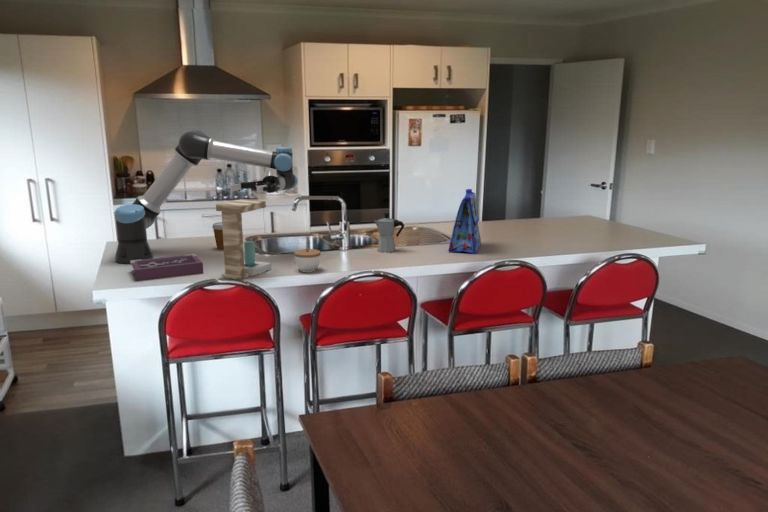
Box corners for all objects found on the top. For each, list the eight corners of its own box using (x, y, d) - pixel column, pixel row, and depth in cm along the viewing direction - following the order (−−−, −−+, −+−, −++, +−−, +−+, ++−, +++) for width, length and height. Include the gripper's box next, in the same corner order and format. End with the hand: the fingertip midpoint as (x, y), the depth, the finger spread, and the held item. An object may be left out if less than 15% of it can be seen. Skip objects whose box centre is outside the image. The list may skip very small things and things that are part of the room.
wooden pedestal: (243, 280, 222) (239, 206, 216) (218, 276, 227) (214, 204, 220) (268, 270, 237) (265, 201, 230) (244, 267, 242) (240, 199, 235)
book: (195, 265, 246) (194, 253, 245) (203, 274, 232) (202, 262, 231) (131, 272, 234) (130, 260, 233) (135, 282, 220) (134, 269, 219)
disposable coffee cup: (228, 251, 270) (227, 225, 267) (209, 250, 272) (208, 225, 269) (237, 246, 279) (236, 222, 276) (219, 245, 281) (217, 221, 278)
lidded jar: (296, 274, 231) (295, 251, 229) (293, 267, 241) (292, 245, 239) (323, 272, 234) (322, 250, 232) (318, 266, 244) (318, 244, 242)
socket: (253, 276, 228) (253, 270, 228) (229, 272, 233) (228, 266, 232) (271, 269, 239) (271, 263, 238) (247, 265, 244) (247, 260, 243)
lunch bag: (476, 254, 267) (479, 192, 260) (447, 252, 270) (449, 190, 263) (481, 244, 287) (484, 186, 280) (454, 243, 290) (456, 185, 284)
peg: (247, 272, 233) (245, 243, 231) (244, 270, 237) (242, 241, 234) (256, 271, 235) (255, 242, 232) (253, 269, 239) (252, 240, 236)
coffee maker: (370, 251, 271) (370, 213, 266) (376, 247, 279) (376, 210, 275) (401, 254, 266) (401, 215, 262) (406, 250, 275) (406, 212, 270)
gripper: (297, 193, 255) (269, 199, 236) (250, 190, 264) (220, 196, 245) (296, 176, 253) (268, 181, 234) (249, 174, 263) (219, 178, 244)
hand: (243, 189), depth 240 cm, fingers open, 13 cm apart
